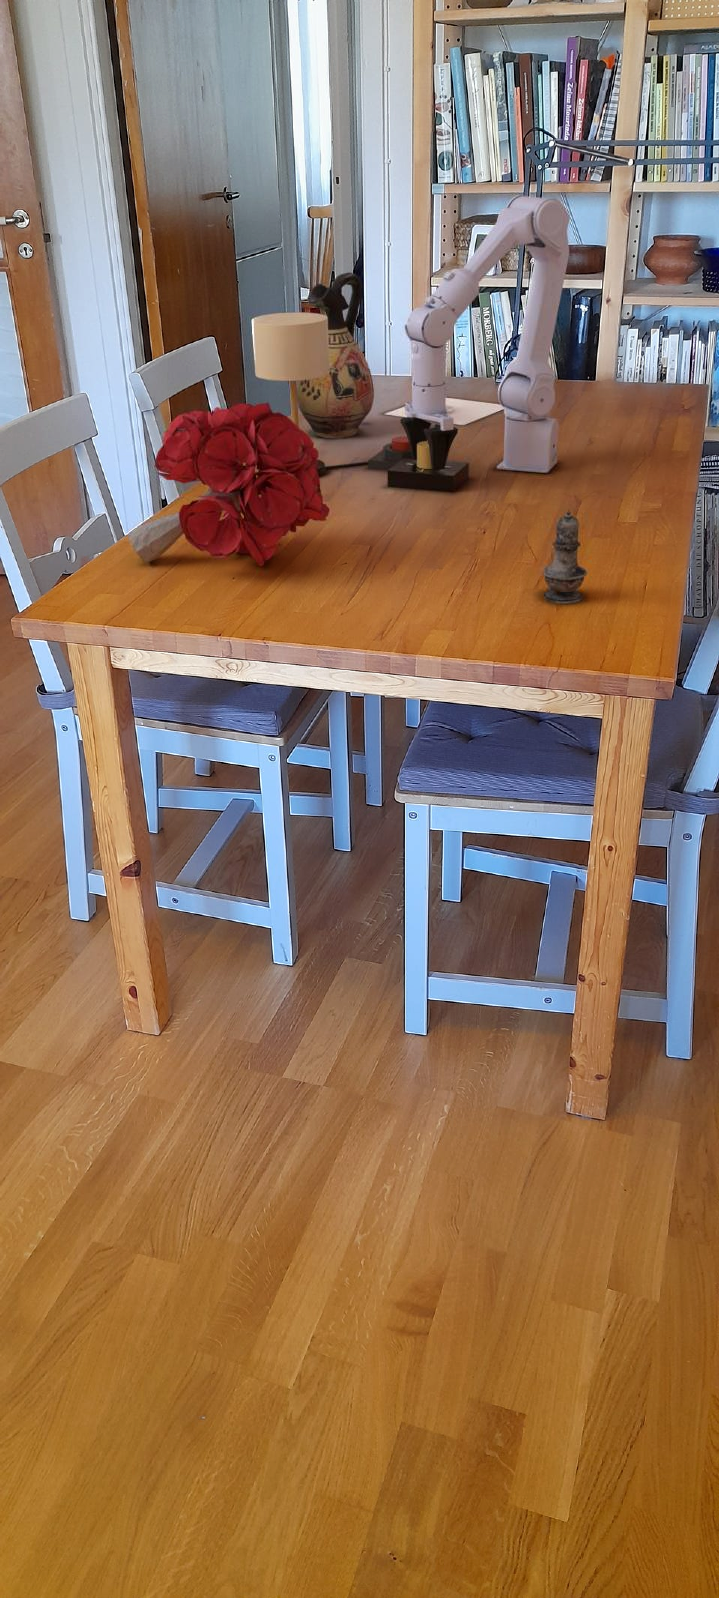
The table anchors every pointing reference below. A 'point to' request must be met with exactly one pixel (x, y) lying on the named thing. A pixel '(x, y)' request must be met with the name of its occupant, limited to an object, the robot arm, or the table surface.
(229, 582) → the table surface
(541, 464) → the robot arm
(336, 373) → the ceramic jug
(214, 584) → the table surface
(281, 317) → the table lamp
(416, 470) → the dimmer panel
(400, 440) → the lamp switch
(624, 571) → the table surface
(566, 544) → the salt shaker
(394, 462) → the switch box
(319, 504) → the bouquet
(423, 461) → the dimmer knob
